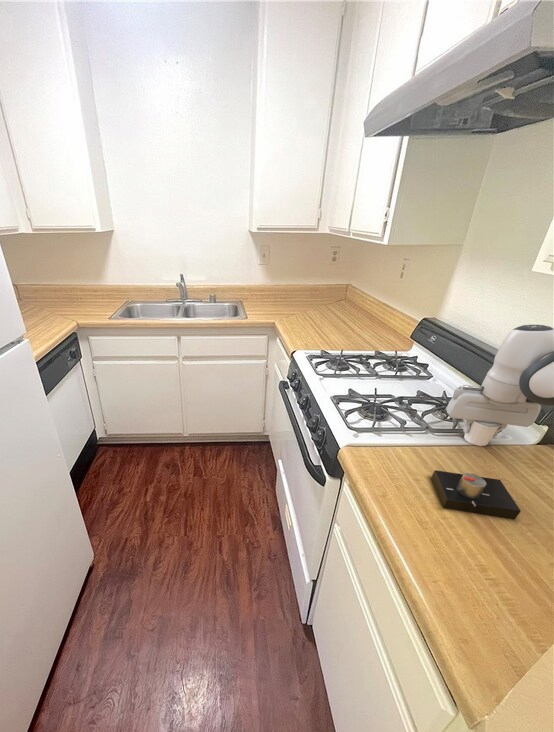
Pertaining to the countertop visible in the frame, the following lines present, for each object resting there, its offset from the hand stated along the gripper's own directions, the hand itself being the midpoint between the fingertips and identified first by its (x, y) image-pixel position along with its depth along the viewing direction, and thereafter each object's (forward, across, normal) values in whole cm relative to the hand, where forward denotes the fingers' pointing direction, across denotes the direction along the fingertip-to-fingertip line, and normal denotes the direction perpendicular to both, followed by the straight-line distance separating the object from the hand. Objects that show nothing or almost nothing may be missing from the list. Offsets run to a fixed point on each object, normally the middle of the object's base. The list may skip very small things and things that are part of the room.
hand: (478, 433), depth 96 cm
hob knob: (-1, -12, -28) cm, 30 cm away
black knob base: (+2, -10, -26) cm, 28 cm away
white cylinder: (+3, 0, 0) cm, 3 cm away
